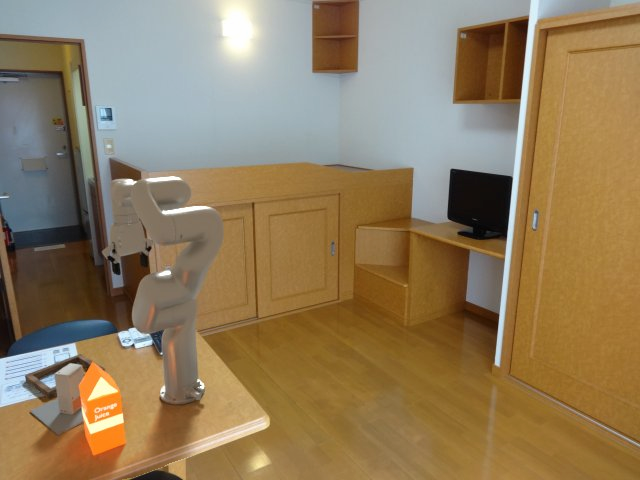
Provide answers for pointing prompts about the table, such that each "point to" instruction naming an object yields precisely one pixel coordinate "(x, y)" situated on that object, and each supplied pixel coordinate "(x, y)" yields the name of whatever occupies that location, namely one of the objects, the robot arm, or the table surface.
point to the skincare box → (69, 388)
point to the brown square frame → (43, 388)
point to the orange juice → (101, 410)
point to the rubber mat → (57, 417)
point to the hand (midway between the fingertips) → (131, 270)
